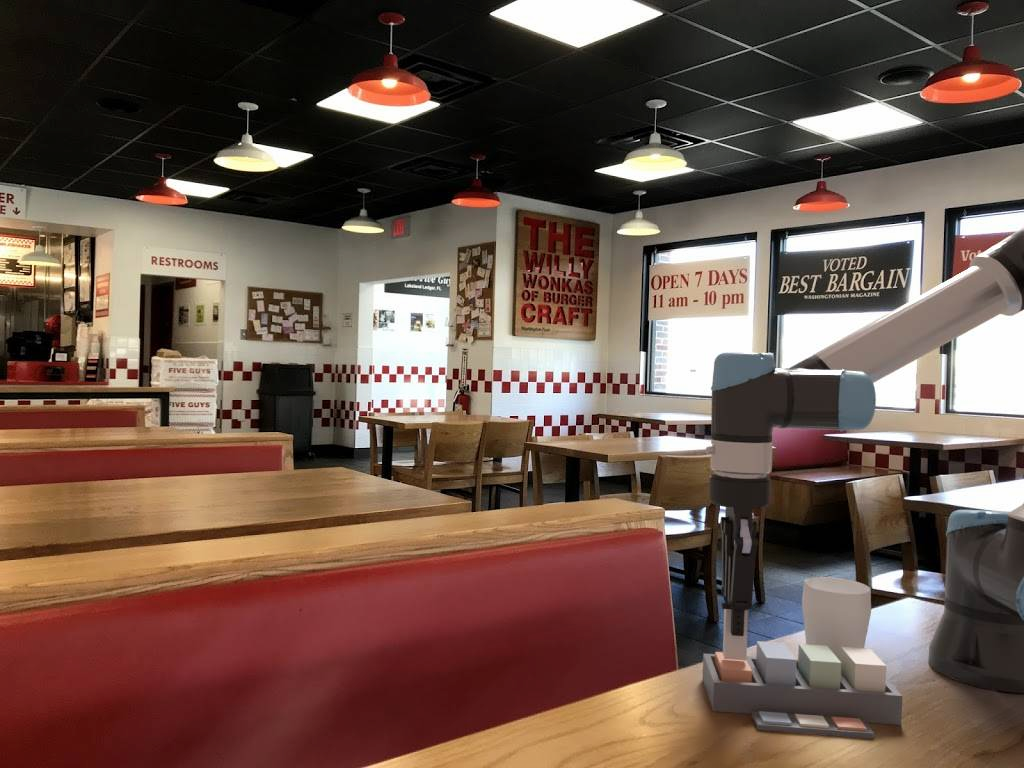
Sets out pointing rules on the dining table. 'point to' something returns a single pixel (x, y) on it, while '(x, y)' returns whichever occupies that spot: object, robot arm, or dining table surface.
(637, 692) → the dining table surface
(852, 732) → the strip
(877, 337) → the robot arm
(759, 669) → the key slate
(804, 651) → the key sage
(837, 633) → the cup
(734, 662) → the key terracotta
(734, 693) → the keypad
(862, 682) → the key ivory
